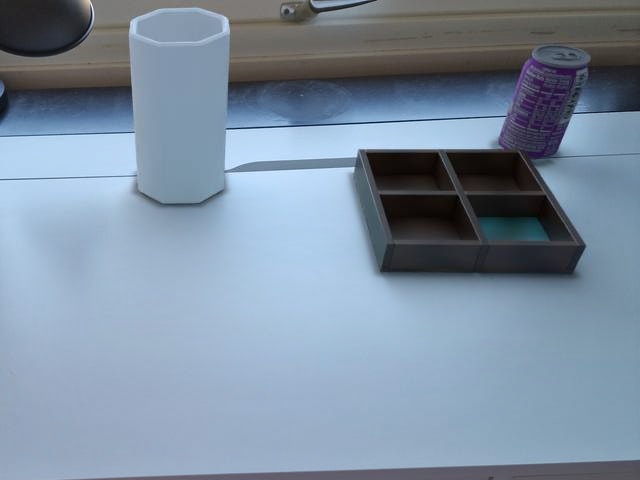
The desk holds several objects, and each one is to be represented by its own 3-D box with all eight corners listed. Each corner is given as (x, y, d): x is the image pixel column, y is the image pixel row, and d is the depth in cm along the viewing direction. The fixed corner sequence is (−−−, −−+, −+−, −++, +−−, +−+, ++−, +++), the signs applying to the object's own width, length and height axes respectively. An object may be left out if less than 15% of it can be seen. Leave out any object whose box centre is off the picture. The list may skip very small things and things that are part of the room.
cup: (238, 168, 87) (247, 12, 74) (206, 214, 80) (210, 51, 67) (157, 152, 90) (152, 1, 77) (120, 195, 83) (107, 37, 70)
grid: (514, 175, 84) (524, 148, 82) (572, 273, 70) (586, 245, 68) (353, 175, 85) (358, 148, 83) (380, 271, 72) (387, 244, 69)
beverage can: (549, 138, 90) (586, 43, 82) (561, 165, 85) (602, 68, 77) (492, 135, 91) (523, 41, 83) (501, 161, 86) (535, 65, 78)
